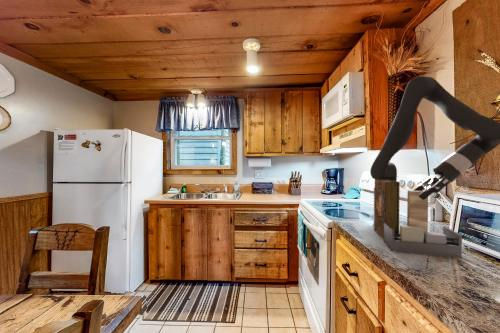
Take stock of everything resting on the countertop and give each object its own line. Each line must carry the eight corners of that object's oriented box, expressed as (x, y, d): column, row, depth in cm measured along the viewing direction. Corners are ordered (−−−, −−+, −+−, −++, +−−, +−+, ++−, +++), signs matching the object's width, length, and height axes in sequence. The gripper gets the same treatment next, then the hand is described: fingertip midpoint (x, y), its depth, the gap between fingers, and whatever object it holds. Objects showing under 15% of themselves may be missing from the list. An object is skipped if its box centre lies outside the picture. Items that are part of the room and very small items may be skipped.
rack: (384, 241, 102) (384, 222, 101) (445, 247, 95) (445, 226, 95) (391, 251, 91) (391, 230, 90) (461, 258, 84) (461, 235, 84)
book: (373, 229, 120) (373, 178, 119) (385, 230, 119) (386, 179, 118) (384, 240, 104) (385, 181, 103) (398, 241, 102) (399, 181, 102)
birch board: (406, 245, 98) (407, 190, 97) (424, 246, 96) (425, 190, 95) (409, 247, 95) (410, 191, 94) (427, 249, 93) (428, 191, 93)
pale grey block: (423, 251, 91) (424, 232, 91) (442, 252, 90) (443, 233, 89) (426, 253, 89) (426, 234, 89) (446, 255, 87) (446, 235, 87)
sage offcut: (399, 248, 94) (399, 225, 93) (420, 250, 92) (421, 226, 91) (401, 251, 91) (401, 227, 91) (423, 253, 89) (423, 228, 89)
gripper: (435, 160, 99) (402, 187, 103) (453, 160, 85) (415, 191, 89) (450, 173, 98) (417, 200, 101) (471, 175, 84) (432, 206, 88)
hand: (416, 196), depth 95 cm, fingers open, 8 cm apart
